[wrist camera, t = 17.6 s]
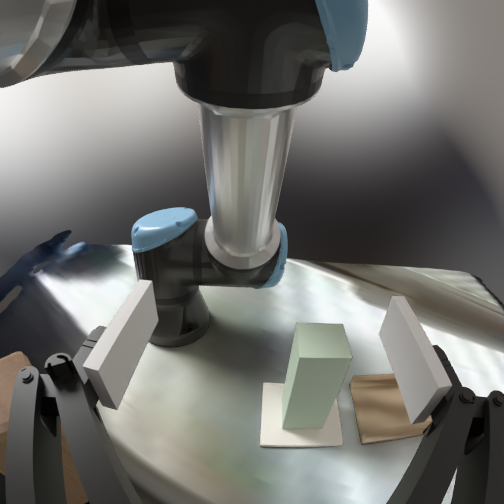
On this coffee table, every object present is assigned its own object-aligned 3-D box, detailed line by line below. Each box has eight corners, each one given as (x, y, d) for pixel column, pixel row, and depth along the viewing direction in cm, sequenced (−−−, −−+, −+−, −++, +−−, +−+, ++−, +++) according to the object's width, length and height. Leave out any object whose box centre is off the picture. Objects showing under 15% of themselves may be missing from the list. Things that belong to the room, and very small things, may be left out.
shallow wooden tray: (349, 384, 45) (353, 375, 44) (413, 379, 44) (418, 371, 43) (361, 444, 34) (366, 437, 33) (432, 432, 33) (439, 424, 32)
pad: (263, 384, 45) (263, 382, 45) (333, 386, 45) (334, 383, 45) (259, 446, 34) (260, 444, 34) (342, 445, 34) (343, 443, 34)
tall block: (281, 397, 42) (296, 322, 35) (318, 398, 42) (343, 323, 35) (281, 428, 37) (299, 357, 30) (322, 428, 36) (352, 357, 29)
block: (83, 438, 31) (21, 345, 22) (117, 488, 25) (46, 412, 16) (35, 462, 24) (-44, 374, 15) (64, 516, 18) (-33, 448, 9)
